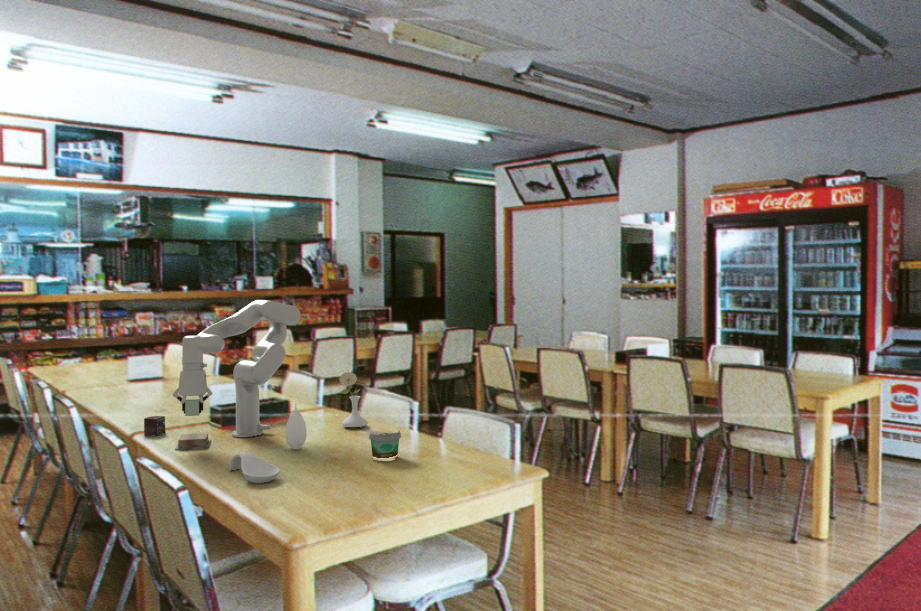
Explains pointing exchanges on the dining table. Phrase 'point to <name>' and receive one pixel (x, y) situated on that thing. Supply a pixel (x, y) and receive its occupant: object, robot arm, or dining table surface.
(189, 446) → the plinth
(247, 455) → the spoon rest
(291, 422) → the sauce bottle
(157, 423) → the box
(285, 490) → the dining table surface
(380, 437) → the food container
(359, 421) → the flower in vase
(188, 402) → the block
